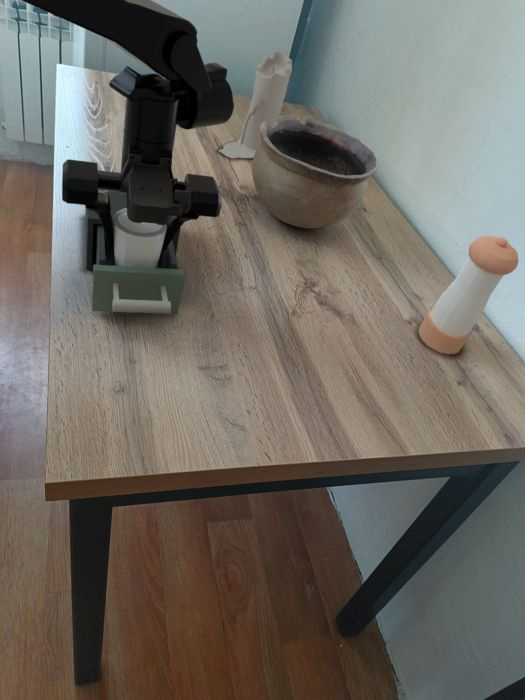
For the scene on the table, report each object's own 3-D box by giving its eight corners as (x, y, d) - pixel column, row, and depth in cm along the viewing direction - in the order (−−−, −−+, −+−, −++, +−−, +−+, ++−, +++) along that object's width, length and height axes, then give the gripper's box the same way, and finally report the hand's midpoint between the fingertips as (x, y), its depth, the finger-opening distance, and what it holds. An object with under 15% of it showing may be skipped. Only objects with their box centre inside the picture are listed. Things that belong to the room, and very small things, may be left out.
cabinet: (173, 274, 82) (181, 226, 76) (86, 269, 78) (87, 218, 72) (163, 224, 91) (170, 178, 85) (85, 218, 87) (86, 168, 81)
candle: (212, 147, 117) (230, 48, 104) (254, 138, 126) (276, 46, 113) (235, 162, 114) (257, 63, 101) (276, 152, 124) (301, 60, 110)
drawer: (182, 338, 71) (190, 298, 67) (92, 336, 68) (94, 295, 63) (168, 260, 83) (174, 221, 78) (90, 255, 79) (91, 214, 74)
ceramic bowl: (295, 179, 116) (316, 109, 106) (371, 232, 107) (403, 162, 97) (218, 197, 102) (235, 119, 92) (299, 260, 93) (327, 181, 83)
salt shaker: (463, 359, 85) (533, 260, 72) (419, 346, 84) (482, 244, 71) (458, 330, 90) (523, 234, 77) (417, 318, 90) (475, 218, 77)
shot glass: (166, 279, 73) (173, 236, 68) (115, 281, 70) (118, 236, 65) (154, 249, 77) (160, 206, 73) (105, 250, 74) (108, 205, 70)
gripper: (60, 154, 53) (61, 280, 63) (242, 177, 59) (215, 288, 69) (62, 108, 60) (63, 227, 71) (223, 132, 66) (202, 238, 77)
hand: (137, 246), depth 72 cm, fingers closed on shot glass, 6 cm apart
